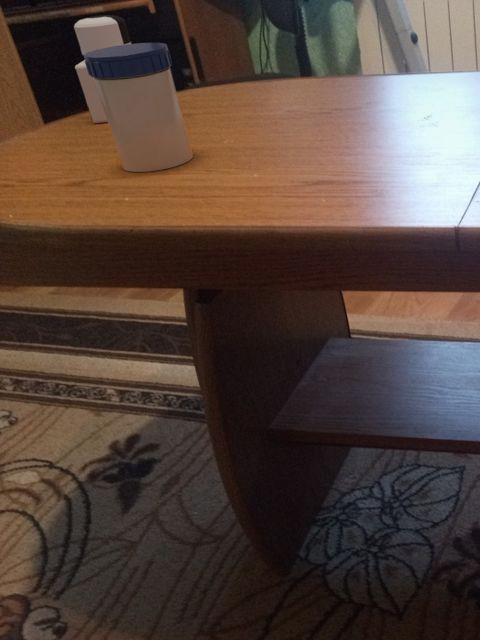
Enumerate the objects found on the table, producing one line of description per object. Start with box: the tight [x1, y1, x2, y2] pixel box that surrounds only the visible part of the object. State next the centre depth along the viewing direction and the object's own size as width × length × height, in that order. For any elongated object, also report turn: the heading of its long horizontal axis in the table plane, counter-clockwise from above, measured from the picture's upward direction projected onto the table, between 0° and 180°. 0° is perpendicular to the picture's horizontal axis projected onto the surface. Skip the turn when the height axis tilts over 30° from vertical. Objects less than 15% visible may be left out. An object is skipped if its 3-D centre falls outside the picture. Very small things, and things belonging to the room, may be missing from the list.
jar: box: [94, 66, 194, 173], centre depth 75 cm, size 7×7×11 cm
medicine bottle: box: [72, 14, 132, 124], centre depth 94 cm, size 7×7×12 cm
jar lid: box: [83, 42, 173, 78], centre depth 72 cm, size 8×8×2 cm
